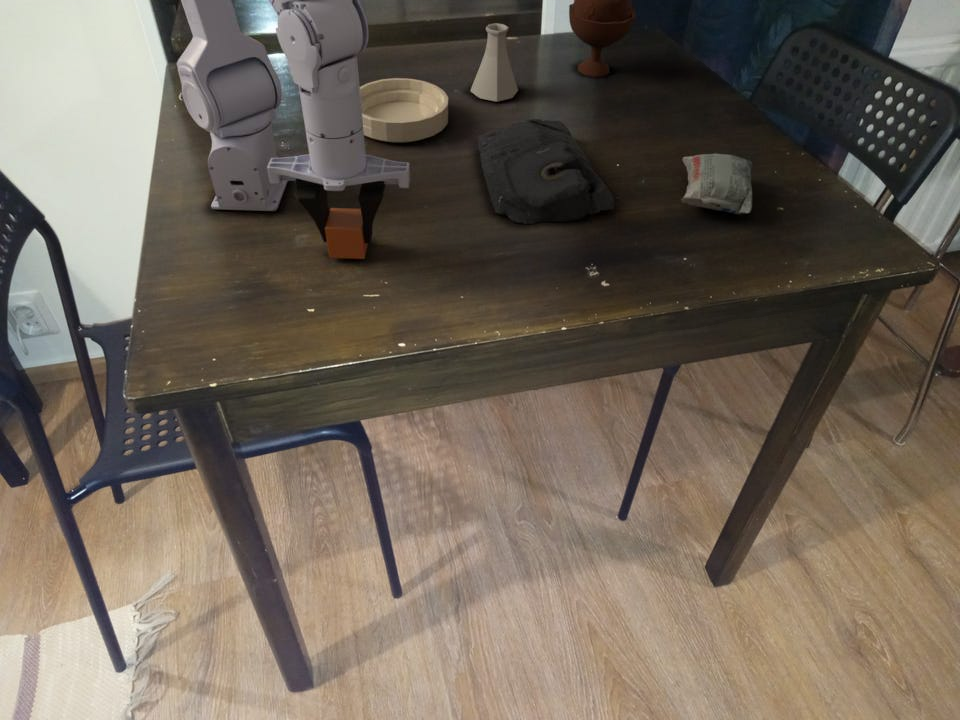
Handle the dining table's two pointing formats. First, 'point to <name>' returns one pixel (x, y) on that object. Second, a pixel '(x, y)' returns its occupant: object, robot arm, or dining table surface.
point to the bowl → (403, 109)
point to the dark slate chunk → (540, 174)
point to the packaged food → (719, 183)
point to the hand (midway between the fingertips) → (347, 237)
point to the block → (345, 234)
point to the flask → (495, 68)
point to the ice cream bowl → (600, 28)
